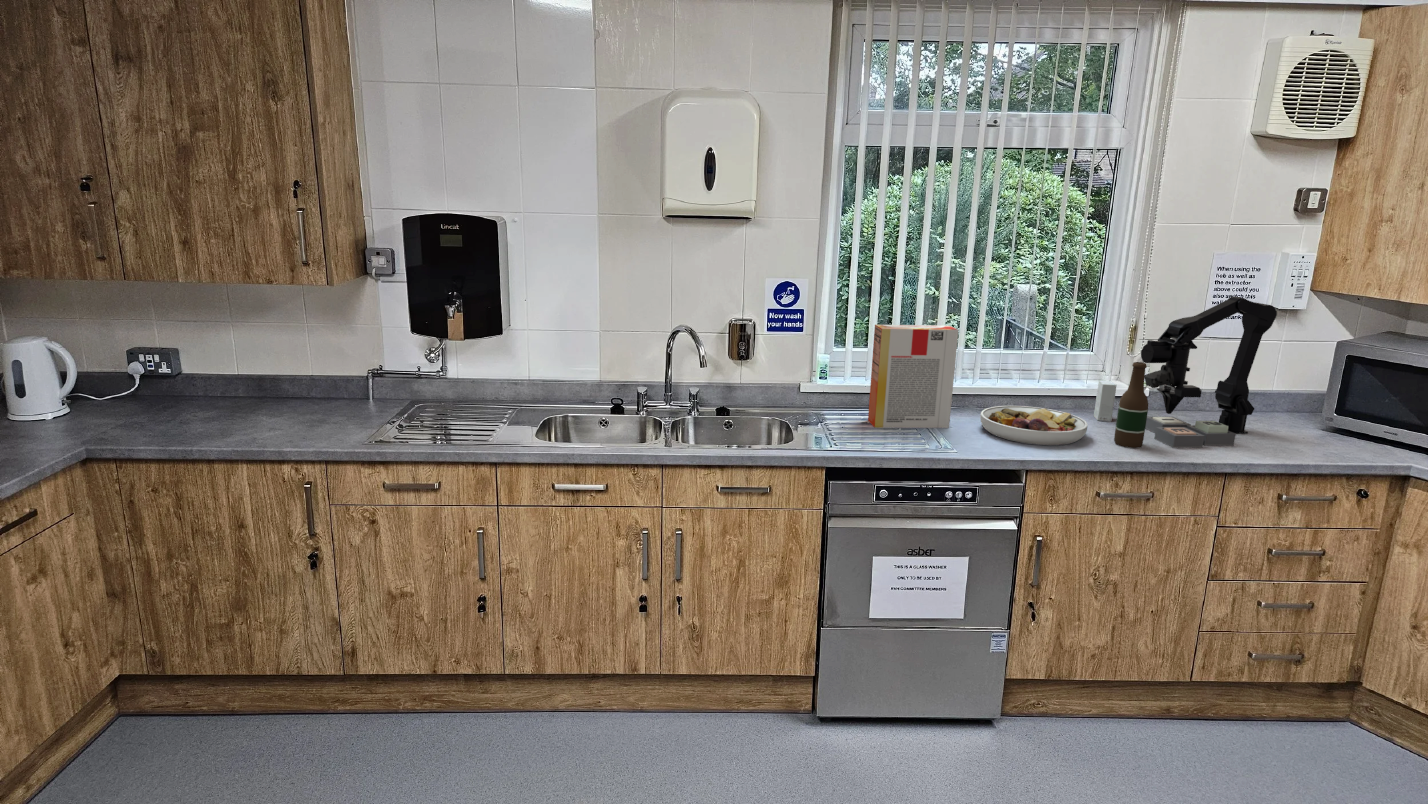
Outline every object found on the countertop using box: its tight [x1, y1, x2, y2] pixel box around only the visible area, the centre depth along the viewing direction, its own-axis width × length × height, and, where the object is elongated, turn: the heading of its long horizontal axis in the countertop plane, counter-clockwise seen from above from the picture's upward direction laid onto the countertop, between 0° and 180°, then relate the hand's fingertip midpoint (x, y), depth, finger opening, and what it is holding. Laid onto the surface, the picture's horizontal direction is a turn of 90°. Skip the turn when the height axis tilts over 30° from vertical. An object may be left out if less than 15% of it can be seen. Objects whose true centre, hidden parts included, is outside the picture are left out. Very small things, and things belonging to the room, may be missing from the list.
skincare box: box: [1093, 380, 1117, 422], centre depth 272 cm, size 6×4×12 cm
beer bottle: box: [1113, 361, 1149, 449], centre depth 243 cm, size 8×8×24 cm
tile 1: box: [1152, 416, 1183, 424], centre depth 260 cm, size 6×6×3 cm
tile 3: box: [1164, 428, 1196, 435], centre depth 248 cm, size 6×6×3 cm
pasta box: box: [867, 324, 959, 429], centre depth 258 cm, size 23×8×30 cm, turn 94°
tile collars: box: [1145, 416, 1237, 449], centre depth 254 cm, size 20×21×4 cm
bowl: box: [979, 405, 1088, 446], centre depth 255 cm, size 30×30×8 cm
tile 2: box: [1194, 420, 1228, 433], centre depth 250 cm, size 6×6×3 cm
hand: (1168, 413), depth 259 cm, fingers closed
